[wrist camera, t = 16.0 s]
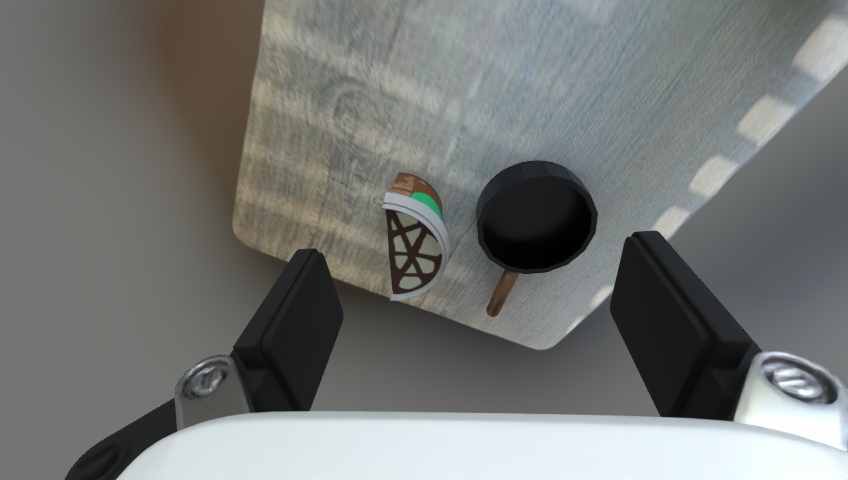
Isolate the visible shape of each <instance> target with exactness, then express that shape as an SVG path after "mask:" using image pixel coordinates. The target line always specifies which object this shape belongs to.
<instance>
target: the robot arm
mask: <svg viewBox="0 0 848 480" xmlns="http://www.w3.org/2000/svg"><path fill="white" fill-rule="evenodd" d="M610 311H611V315H612V317H613V319H614V321H615V323H616V325H617V327H618V330H619V331H620V334H621V336H622V338H623V340H624V342H625V344H626V346H627V348H628V350H629V352H630V354H631V356H632V359H633V360H634V363H635V365H636V367H637V369H638V371H639V373H640V375H641V377H642V379H643V381H644V383H645V386H646V388H647V390H648V392H649V394H650V396H651V398H652V400H653V402H654V404H655V406H656V408H657V410H658V412H659V414H660V416H661V417H642V416H608V415H607V416H606V415H557V414H556V415H555V414H506V413H505V414H503V413H441V412H439V413H438V412H354V411H353V412H352V411H349V412H348V411H310V409H311V406H312V403H313V400H314V398H315V395H316V392H317V389H318V387H319V384H320V382H321V379H322V376H323V374H324V371H325V368H326V365H327V363H328V360H329V357H330V354H331V352H332V349H333V346H334V343H335V341H336V338H337V336H338V333H339V330H340V327H341V325H342V322H343V310H342V307H341V304H340V301H339V298H338V296H337V292H336V289H335V286H334V284H333V280H332V277H331V275H330V272H329V269H328V266H327V263H326V260H325V257H324V255H323V253H319V252H318V250H317V249H315V248H314V249H299V250H297V251H296V252H295V254H294V255H293V257H292V258H291V260H290V261H289V263H288V264H287V266H286V267H285V269H284V270H283V272H282V273H281V275H280V276H279V278H278V279H277V281H276V283H275V284H274V286H273V287H272V289H271V290H270V292H269V293H268V295H267V296H266V298H265V299H264V301H263V302H262V304H261V305H260V307H259V308H258V310H257V311H256V313H255V315H254V316H253V317H252V319H251V321H250V322H249V324H248V325H247V327H246V328H245V330H244V331H243V333H242V334H241V336H240V337H239V339H238V340H237V342H236V343H235V345H234V346H233V348H234V349H233V351H232V352H231V354H230V355H229V356H227V355H215V356H211V357H208V358H206V359H203V360H201V361H200V362H198V363H196V364H195V365H193V366H192V367H191V368H190V369H189V370H187V371H186V372H185V373H184V375H183V376H182V377H181V378H180V379H179V381H178V383H177V385H176V387H175V393H174V398H173V399H172V400H170V401H168V402H167V403H165V404H163V405H161V406H160V407H158V408H156V409H155V410H153V411H151V412H149V413H148V414H146V415H144V416H143V417H141V418H139V419H138V420H136V421H134V422H132V423H131V424H129V425H127V426H126V427H124V428H123V429H121V430H119V431H117V432H116V433H114V434H112V435H110V436H109V437H107V438H105V439H104V440H102V441H100V442H99V443H97V444H96V445H95V446H93V447H92V448H90V449H89V450H88V451H87V452H86V453H85V454H84V455H82V457H80V458H79V459H78V461H77V462H76V463H75V464H74V465H73V467H72V468H71V469H70V471H69V473H68V474H67V476H66V478H65V480H848V390H847V389H846V387H845V386H844V385H843V383H842V382H841V381H840V380H839V379H838V378H837V377H836V376H835V375H833V374H832V373H831V372H830V371H829V370H827V369H825V368H824V367H822V366H820V365H819V364H818V363H816V362H814V361H812V360H809V359H807V358H805V357H803V356H800V355H797V354H793V353H790V352H784V351H778V350H769V351H762V350H761V349H760V348H759V347H758V345H757V344H756V343H755V342H754V341H753V340H752V339H751V337H750V336H749V335H748V334H747V333H746V332H745V331H744V329H743V328H742V327H741V326H740V325H739V324H738V322H737V321H736V320H735V319H734V318H733V317H732V315H731V314H730V313H729V312H728V311H727V310H726V309H725V307H724V306H723V305H722V304H721V303H720V302H719V300H718V299H717V298H716V297H715V296H714V294H713V293H712V292H711V291H710V290H709V289H708V288H707V287H706V285H705V284H704V283H703V282H702V281H701V280H700V279H699V278H698V277H697V275H696V274H694V272H693V271H692V270H691V268H690V267H689V266H688V265H687V264H686V263H685V262H684V260H683V259H682V258H681V257H680V256H679V255H678V254H677V252H676V251H675V250H674V249H673V248H672V246H671V245H670V244H669V243H668V242H667V241H666V240H665V238H664V237H663V236H662V235H661V234H660V233H659V232H658V231H641V232H634V233H633V234H632V236H631V237H627V238H626V240H625V243H624V247H623V251H622V256H621V260H620V264H619V269H618V273H617V277H616V281H615V286H614V290H613V294H612V299H611V303H610Z"/></svg>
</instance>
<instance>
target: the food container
mask: <svg viewBox="0 0 848 480" xmlns="http://www.w3.org/2000/svg"><path fill="white" fill-rule="evenodd" d="M383 203H384V204H383V207H382V209H386V215H387V227H388V243H389V259H390V268H391V280H392V293H391V298H390V301H399V300H406V299H410V298H414V297H416V296H419V295H421V294H423V293H424V292H426V291H427V290H429V289H430V288H431V287H432V286H433V285H434V284H435V283H436V282H437V280H438V279H439V278H440V277H441V275H442V273H443V271H444V269H445V267H446V264H447V261H448V258H449V254H450V240H449V236H448V233H447V231H446V228H445V226H444V224H443V223H442V206H441V201H440V198H439V196H438V194H437V192H436V191H435V190H434V188H433V187H432V186H431V185H430V184H429V183H427V182H426V181H425V180H423V179H421V178H419V177H417V176H414V175H411V174H407V173H399V174H398V176H397V178H396V180H395V182H394V184H393V186H392V188H391V190H390V192H386V194H385V198H384V202H383Z"/></svg>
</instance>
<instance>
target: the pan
mask: <svg viewBox="0 0 848 480" xmlns="http://www.w3.org/2000/svg"><path fill="white" fill-rule="evenodd" d="M597 216H598V212H597V210H596V207H595V205H594V202H593V200H592V198H591V195H590V194H589V192H588V191H587V189H586V188H585V186H584V185H583V183H582V182H581V180H579V179H578V178H577V177H576V176H575V175H574V174H573V173H572V172H571V171H569V170H568V169H567V168H565V167H563V166H561V165H558V164H555V163H552V162H547V161H528V162H523V163H519V164H516V165H513V166H511V167H509V168H507V169H505V170H503V171H501V172H500V173H499V174H497V175H496V176H495V177H494V178H493V179H492V180H491V181H490V182H489V183H488V184H487V185H486V186H485V188H484V190H483V191H482V193H481V195H480V197H479V200H478V204H477V209H476V217H477V229H478V239H479V244H480V246H481V247H482V249H483V250H484V252H485V254H486V255H487V257H488V258H489V259H490V260H491V261H493V262H494V263H496V264H497V265H499V266H501V267H502V268H504V269H505V270H504V272H503V274H502V277H501V279H500V281H499V283H498V285H497V287H496V289H495V291H494V293H493V296H492V298H491V300H490V302H489V304H488V306H487V309H486V311H487V314H488V315H489V316H491V317H495V316H497V315H498V314H499V312H500V310H501V308H502V306H503V304H504V302H505V300H506V298H507V296H508V294H509V292H510V290H511V288H512V286H513V284H514V282H515V281H516V279H517V277H518V273H522V274H533V273H546V272H549V271H552V270H554V269H557V268H560V267H562V266H565V265H567V264H569V263H570V262H571V261H572V260H574V259H575V258H576V257H577V256H579V255H580V254H581V253H583V252H584V251H585V249H586V248H587V246H588V244H589V243H590V241H591V240H592V238H593V236H594V235H595V233H596V224H597Z"/></svg>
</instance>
